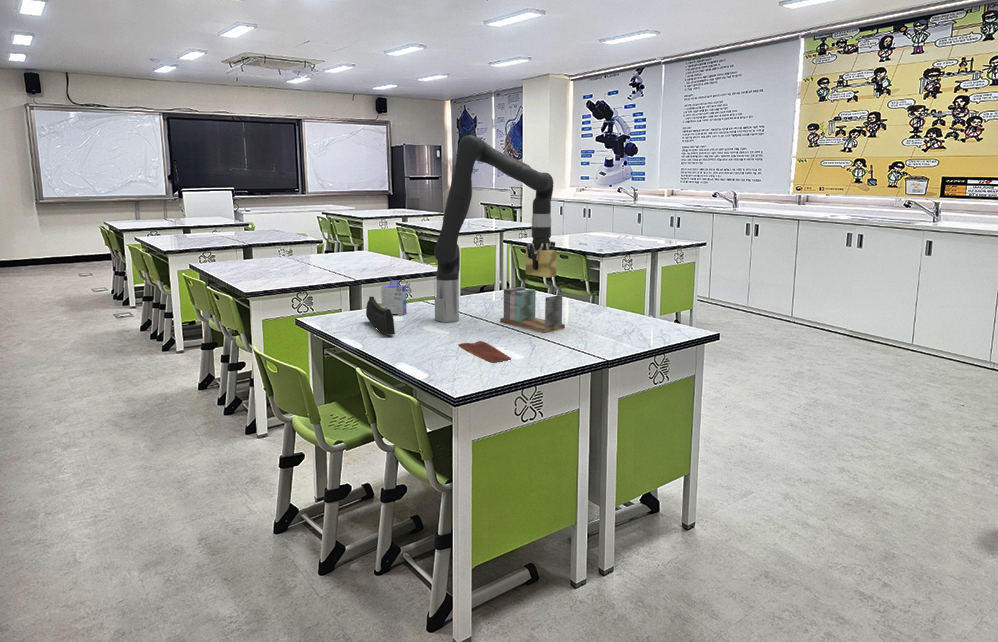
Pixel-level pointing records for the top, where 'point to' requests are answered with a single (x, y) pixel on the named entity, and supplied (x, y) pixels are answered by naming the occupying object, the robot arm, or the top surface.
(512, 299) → the book shelf
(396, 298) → the ink cartridge box
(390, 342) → the top surface
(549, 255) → the yellow block
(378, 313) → the magazine
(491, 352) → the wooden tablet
